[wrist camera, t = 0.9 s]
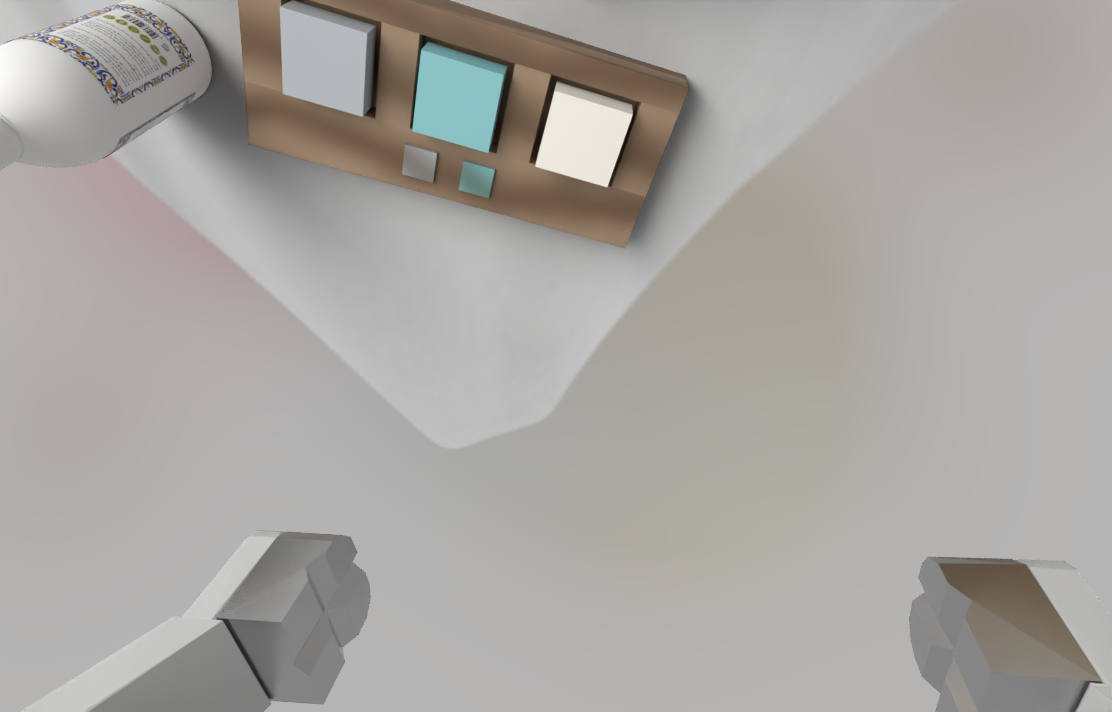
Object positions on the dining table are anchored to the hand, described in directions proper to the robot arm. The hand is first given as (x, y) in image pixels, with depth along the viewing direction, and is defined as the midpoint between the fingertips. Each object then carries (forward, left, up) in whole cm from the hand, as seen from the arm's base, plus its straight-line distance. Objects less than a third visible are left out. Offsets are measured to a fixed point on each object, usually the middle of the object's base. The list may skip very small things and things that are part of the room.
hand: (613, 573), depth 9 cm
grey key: (+8, -17, -39) cm, 44 cm away
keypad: (+10, -8, -41) cm, 43 cm away
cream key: (+8, +1, -39) cm, 40 cm away
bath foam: (+12, -30, -42) cm, 53 cm away
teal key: (+8, -8, -39) cm, 41 cm away
